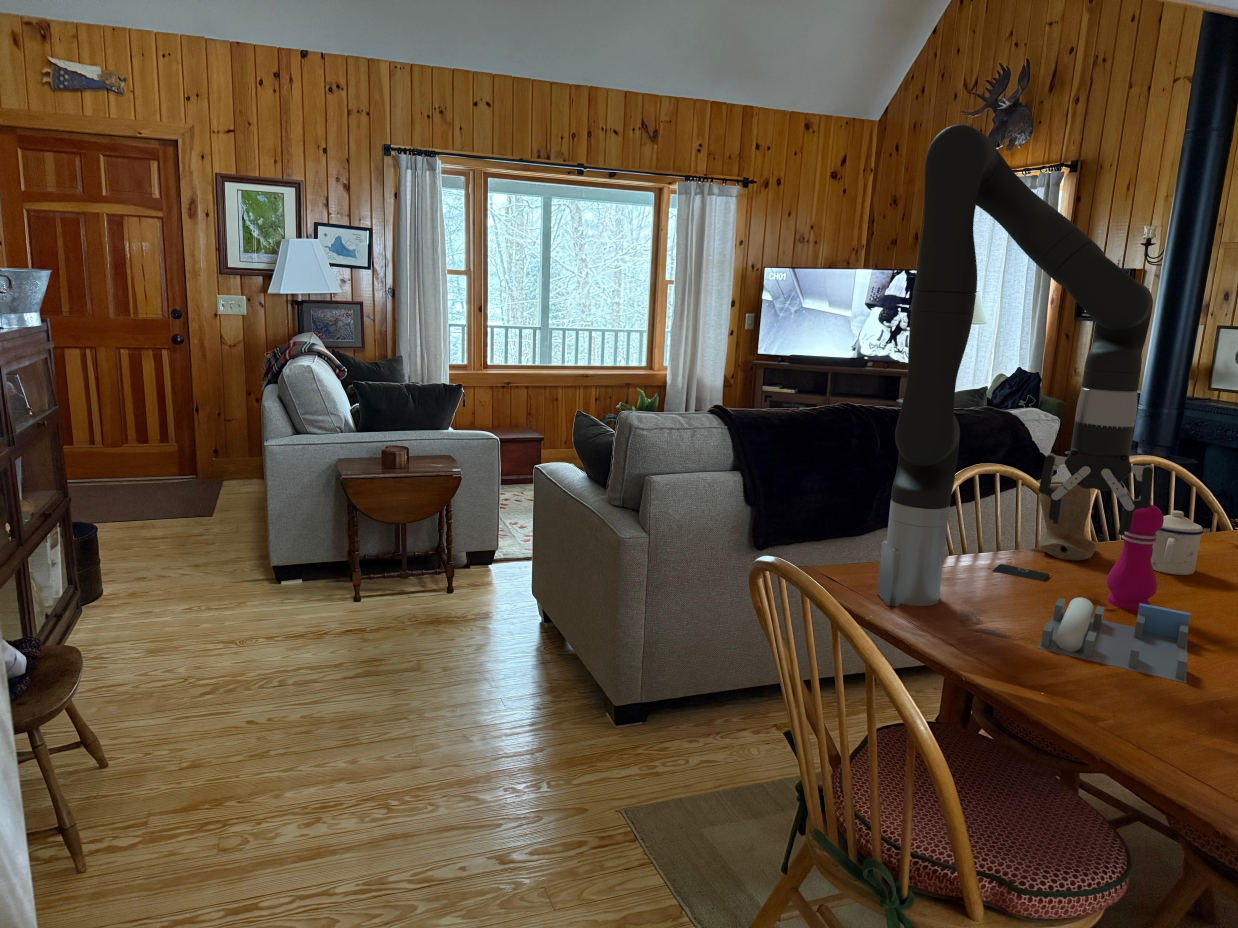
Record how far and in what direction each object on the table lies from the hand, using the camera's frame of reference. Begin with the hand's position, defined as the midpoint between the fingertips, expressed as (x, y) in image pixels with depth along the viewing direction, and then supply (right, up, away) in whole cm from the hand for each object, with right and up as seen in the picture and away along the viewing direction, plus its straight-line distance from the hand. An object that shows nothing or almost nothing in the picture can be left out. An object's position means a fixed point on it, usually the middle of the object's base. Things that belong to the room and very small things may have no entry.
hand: (1088, 528), depth 124 cm
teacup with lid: (+38, -11, +40) cm, 57 cm away
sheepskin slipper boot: (+23, -9, +50) cm, 56 cm away
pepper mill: (+16, -15, +18) cm, 28 cm away
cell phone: (+3, -13, +29) cm, 32 cm away
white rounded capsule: (-1, -16, +3) cm, 17 cm away
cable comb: (+4, -18, 0) cm, 18 cm away
